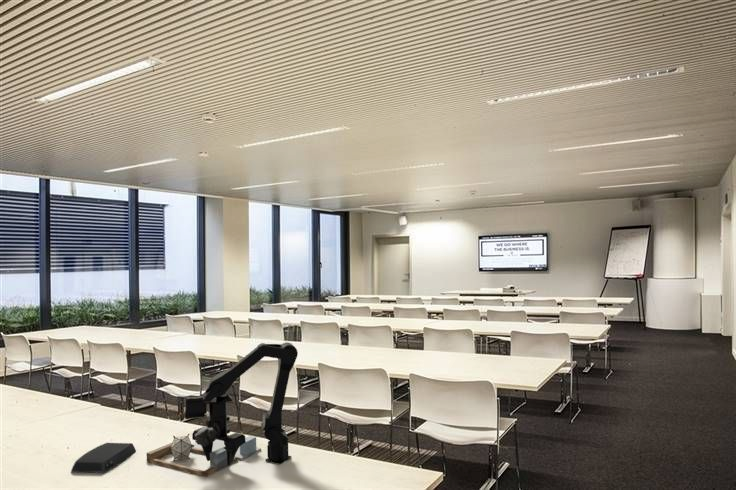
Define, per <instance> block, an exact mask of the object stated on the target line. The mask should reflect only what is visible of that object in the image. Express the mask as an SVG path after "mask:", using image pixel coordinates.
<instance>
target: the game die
mask: <svg viewBox="0 0 736 490" xmlns="http://www.w3.org/2000/svg"><path fill="white" fill-rule="evenodd" d="M172 436H173V440H172V442H173V443H172V442H171V443H172V445H171V448H169V450H171V452H172V454H171V455H172V457H173V462H172V463H174V462H175V461H176V460H179V459H186V458H187V459H188V460H190V453H192V452H191V449H192V447H194V445H192V444H193V443H192V442H191V440H190V437H189V436H190V433H188V434H187V435H184V436H183V435H182V436H175V435H172Z"/></svg>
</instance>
